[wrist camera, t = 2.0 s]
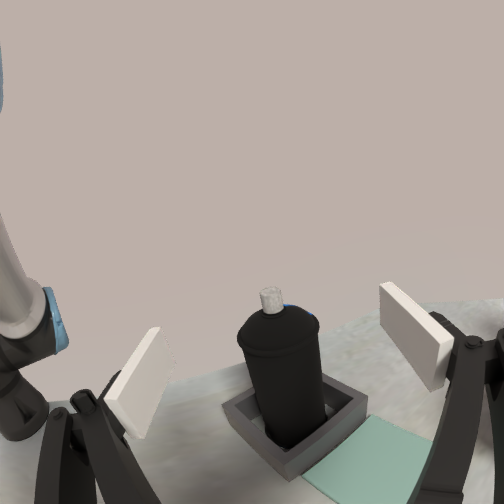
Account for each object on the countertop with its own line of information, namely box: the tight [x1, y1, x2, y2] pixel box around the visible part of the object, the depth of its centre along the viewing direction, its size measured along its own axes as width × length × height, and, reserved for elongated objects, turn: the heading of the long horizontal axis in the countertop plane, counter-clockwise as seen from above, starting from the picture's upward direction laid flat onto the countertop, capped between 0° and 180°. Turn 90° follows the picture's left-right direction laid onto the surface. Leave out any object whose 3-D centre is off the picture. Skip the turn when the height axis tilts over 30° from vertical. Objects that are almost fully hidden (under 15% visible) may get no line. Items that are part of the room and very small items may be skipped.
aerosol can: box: [237, 287, 328, 449], centre depth 28 cm, size 8×8×20 cm
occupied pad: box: [302, 414, 433, 504], centre depth 20 cm, size 12×12×1 cm
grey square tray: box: [222, 373, 368, 482], centre depth 30 cm, size 13×13×4 cm
